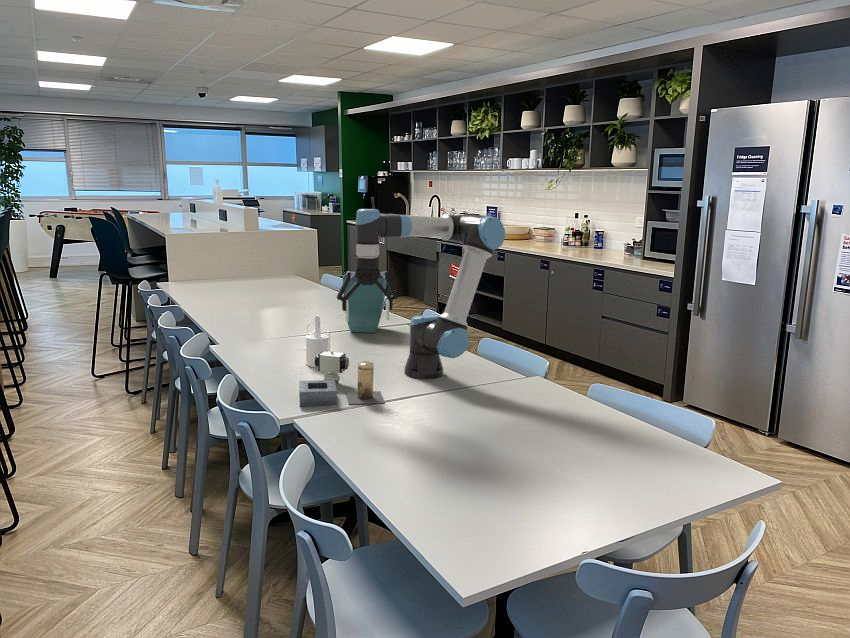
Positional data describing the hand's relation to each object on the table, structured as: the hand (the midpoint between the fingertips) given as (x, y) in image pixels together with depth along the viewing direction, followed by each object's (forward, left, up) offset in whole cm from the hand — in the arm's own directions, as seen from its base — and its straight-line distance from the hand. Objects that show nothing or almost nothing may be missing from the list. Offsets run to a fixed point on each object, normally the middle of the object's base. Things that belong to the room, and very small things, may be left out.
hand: (367, 320), depth 212 cm
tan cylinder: (0, +1, -27) cm, 27 cm away
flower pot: (-10, -102, -27) cm, 106 cm away
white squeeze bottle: (+15, -43, -27) cm, 53 cm away
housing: (+17, +1, -27) cm, 32 cm away
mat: (+1, +1, -27) cm, 27 cm away
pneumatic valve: (+11, -18, -27) cm, 34 cm away
